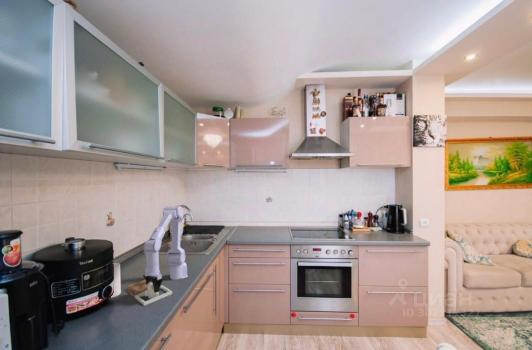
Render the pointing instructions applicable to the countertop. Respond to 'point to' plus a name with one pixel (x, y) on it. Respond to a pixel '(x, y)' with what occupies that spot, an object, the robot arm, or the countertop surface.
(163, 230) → the robot arm
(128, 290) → the tray
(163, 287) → the tray
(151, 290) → the white rounded piece
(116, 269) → the cup
